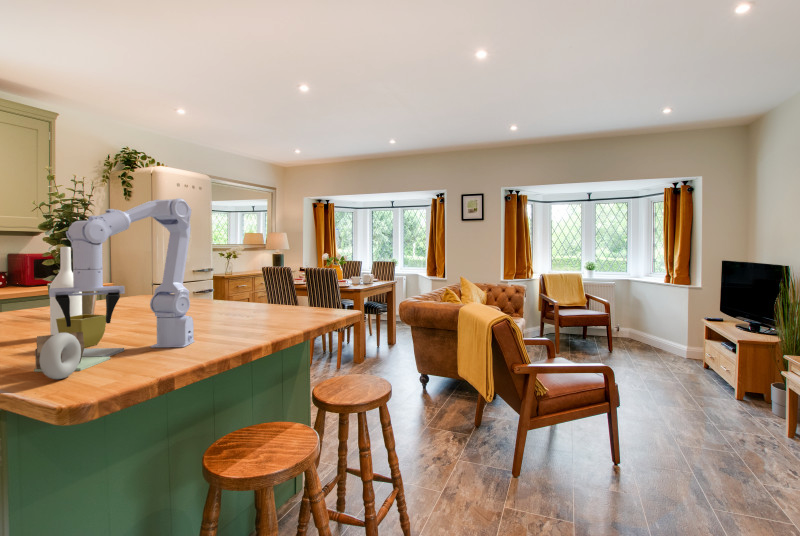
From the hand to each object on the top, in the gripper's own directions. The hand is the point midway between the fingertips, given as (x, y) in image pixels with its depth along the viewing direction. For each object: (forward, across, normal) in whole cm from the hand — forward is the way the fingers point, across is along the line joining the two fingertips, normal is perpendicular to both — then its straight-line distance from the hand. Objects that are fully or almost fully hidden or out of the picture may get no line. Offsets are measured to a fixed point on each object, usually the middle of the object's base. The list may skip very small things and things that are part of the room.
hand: (88, 324), depth 99 cm
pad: (+10, +3, -2) cm, 10 cm away
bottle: (+10, +2, -47) cm, 48 cm away
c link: (+7, +6, +3) cm, 9 cm away
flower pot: (+10, -1, -27) cm, 29 cm away
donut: (+10, +6, +10) cm, 16 cm away
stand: (+10, 0, -13) cm, 16 cm away
